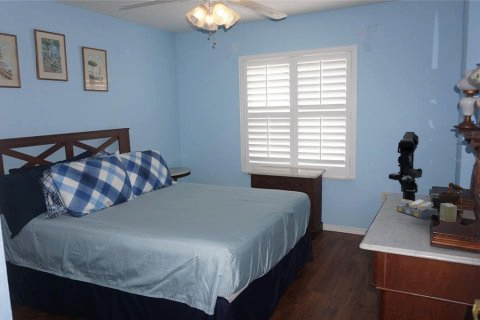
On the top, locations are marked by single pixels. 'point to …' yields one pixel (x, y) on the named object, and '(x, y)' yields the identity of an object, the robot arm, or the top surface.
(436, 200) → the electrical switch
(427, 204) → the rocker right
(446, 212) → the skincare box
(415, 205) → the rocker middle
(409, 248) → the top surface
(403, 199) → the rocker left
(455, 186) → the music box
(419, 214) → the console
